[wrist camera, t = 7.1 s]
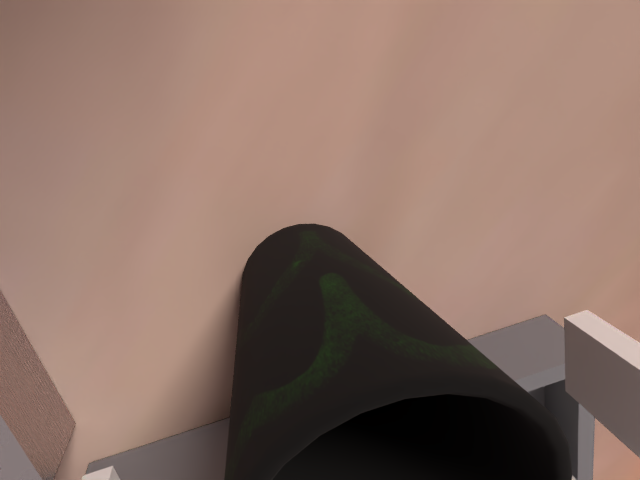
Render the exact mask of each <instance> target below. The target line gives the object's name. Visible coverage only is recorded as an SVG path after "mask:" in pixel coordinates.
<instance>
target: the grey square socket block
mask: <svg viewBox="0 0 640 480" xmlns="http://www.w3.org/2000/svg"><path fill="white" fill-rule="evenodd" d="M75 424H76V423H75V422H74V420H73V418H72V416H71V415H70V413H69V411H68V409H67V408H66V406H65V404H64V402H63V401H62V399H61V397H60V395H59V394H58V392H57V390H56V388H55V387H54V385H53V383H52V381H51V379H50V378H49V376H48V374H47V372H46V371H45V369H44V367H43V365H42V364H41V362H40V360H39V358H38V357H37V355H36V353H35V351H34V350H33V348H32V346H31V344H30V342H29V341H28V339H27V337H26V335H25V334H24V332H23V330H22V328H21V327H20V325H19V323H18V321H17V320H16V318H15V316H14V314H13V313H12V311H11V309H10V307H9V306H8V304H7V302H6V300H5V298H4V297H3V295H2V293H1V291H0V480H53V479H54V477H55V474H56V472H57V469H58V467H59V464H60V462H61V459H62V457H63V454H64V452H65V449H66V446H67V444H68V441H69V439H70V436H71V434H72V431H73V429H74V426H75Z"/></svg>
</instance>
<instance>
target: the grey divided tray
mask: <svg viewBox="0 0 640 480" xmlns="http://www.w3.org/2000/svg"><path fill="white" fill-rule="evenodd" d="M467 341H468V342H470V343H471V344H472V345H473V346H474V347H475V348H477V349H478V350H479V351H480V352H481V353H482V354H484V355H485V356H486V357H487V358H488V359H489V360H491V361H492V362H493V363H494V364H495V365H496V366H498V367H499V368H500V369H501V370H502V371H503V372H505V373H506V374H507V375H508V376H509V377H510V378H512V379H513V380H514V381H515V382H516V383H517V384H519V385H520V386H521V387H522V388H523V389H524V390H526V391H527V392H528V393H529V394H530V395H531V396H533V397H534V398H535V399H536V400H537V401H538V402H539V403H541V404H542V405H543V406H544V407H545V408H546V409H547V410H549V411H550V412H551V413H552V414H553V415H554V416H555V417H556V419H557V421H558V423H559V425H560V427H561V429H562V431H563V433H564V434H565V436H566V438H567V440H568V442H569V449H570V456H571V464H572V471H573V472H572V475H573V476H574V477H575V479H576V480H593V458H594V427H595V417H594V416H593V415H592V414H590V413H589V412H588V411H587V410H586V409H585V408H584V407H583V406H582V405H581V404H579V403H578V402H577V401H576V400H575V399H574V398H573V397H572V396H571V395H569V394H568V393H567V392H566V391H565V339H564V328H563V327H562V326H561V325H559V324H558V323H557V322H555V321H554V320H553V319H551V318H550V317H549V316H547V315H543V316H540V317H536V318H533V319H530V320H527V321H524V322H521V323H518V324H515V325H512V326H509V327H506V328H503V329H500V330H497V331H493V332H490V333H487V334H484V335H481V336H478V337H475V338H472V339H469V340H467ZM229 421H230V418H227V419H223V420H220V421H217V422H214V423H211V424H208V425H205V426H202V427H199V428H196V429H193V430H190V431H187V432H184V433H181V434H177V435H174V436H171V437H168V438H165V439H162V440H159V441H156V442H153V443H150V444H147V445H144V446H141V447H138V448H134V449H131V450H128V451H125V452H122V453H119V454H116V455H113V456H110V457H107V458H104V459H101V460H98V461H95V462H92V463H89V465H88V468H87V471H86V474H89V473H92V472H95V471H98V470H101V469H104V468H107V467H111V466H113V467H114V469H115V471H116V473H117V475H118V476H119V478H120V480H224V477H225V466H226V455H227V444H228V432H229Z"/></svg>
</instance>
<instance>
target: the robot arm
mask: <svg viewBox="0 0 640 480" xmlns="http://www.w3.org/2000/svg"><path fill="white" fill-rule="evenodd" d="M564 339H565V391H566V392H567V393H568V394H569V395H571V396H572V397H573V398H574V399H575V400H576V401H577V402H578V403H579V404H581V405H582V406H583V407H584V408H585V409H586V410H587V411H588V412H589V413H590V414H592V415H593V416H594V417H595V418H596V419H597V420H598V421H599V422H600V423H602V424H603V425H604V426H605V427H606V428H607V429H608V430H609V431H610V432H611V433H613V434H614V435H615V436H616V437H617V438H618V439H619V440H620V441H621V442H623V443H624V444H625V445H626V446H627V447H628V448H629V449H630V450H631V451H633V452H634V453H635V454H636V455H637V456H638V457H639V458H640V343H639V342H638V341H636V340H634V339H633V338H631V337H630V336H628V335H626V334H625V333H623V332H622V331H620V330H619V329H617V328H615V327H614V326H612V325H611V324H609V323H607V322H606V321H604V320H603V319H601V318H599V317H598V316H596V315H595V314H593V313H592V312H590V311H588V310H585V311H582V312H579V313H576V314H573V315H570V316H567V317H564ZM82 480H120V478H119V476H118V475H117V473H116V471H115V469H114V467H113V466H111V467H107V468H104V469H101V470H98V471H95V472H92V473H89V474H86V475H83V477H82Z"/></svg>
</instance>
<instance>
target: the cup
mask: <svg viewBox="0 0 640 480" xmlns="http://www.w3.org/2000/svg"><path fill="white" fill-rule="evenodd" d="M572 472H573V471H572V464H571V456H570V449H569V442H568V440H567V438H566V436H565V434H564V433H563V431H562V429H561V427H560V425H559V423H558V421H557V419H556V417H555V416H554V415H553V414H552V413H551V412H550V411H549V410H547V409H546V408H545V407H544V406H543V405H542V404H541V403H539V402H538V401H537V400H536V399H535V398H534V397H533V396H531V395H530V394H529V393H528V392H527V391H526V390H524V389H523V388H522V387H521V386H520V385H519V384H517V383H516V382H515V381H514V380H513V379H512V378H510V377H509V376H508V375H507V374H506V373H505V372H503V371H502V370H501V369H500V368H499V367H498V366H496V365H495V364H494V363H493V362H492V361H491V360H489V359H488V358H487V357H486V356H485V355H484V354H482V353H481V352H480V351H479V350H478V349H477V348H475V347H474V346H473V345H472V344H471V343H470V342H468V341H467V340H466V339H465V338H464V337H463V336H461V335H460V334H459V333H458V332H457V331H455V330H454V329H453V328H452V327H451V326H450V325H448V324H447V323H446V322H445V321H444V320H443V319H441V318H440V317H439V316H438V315H437V314H436V313H434V312H433V311H432V310H431V309H430V308H429V307H427V306H426V305H425V304H424V303H423V302H422V301H420V300H419V299H418V298H417V297H416V296H415V295H413V294H412V293H411V292H410V291H409V290H408V289H406V288H405V287H404V286H403V285H402V284H401V283H399V282H398V281H397V280H396V279H395V278H394V277H392V276H391V275H390V274H389V273H388V272H387V271H385V270H384V269H383V268H382V267H381V266H380V265H378V264H377V263H376V262H375V261H374V260H373V259H371V258H370V257H369V256H368V255H367V254H365V253H364V252H363V251H362V250H361V249H360V248H358V247H357V246H356V245H355V244H354V243H353V242H351V241H350V240H349V239H348V238H347V237H346V236H344V235H343V234H342V233H340V232H338V231H336V230H334V229H332V228H330V227H327V226H322V225H318V224H298V225H294V226H290V227H286V228H283V229H281V230H279V231H277V232H275V233H274V234H272V235H270V236H268V237H267V238H266V239H265V240H264V241H263V242H262V243H260V244H259V245H258V246H257V247H256V249H255V250H254V252H253V253H252V254H251V256H250V257H249V259H248V261H247V264H246V266H245V269H244V272H243V279H242V288H241V299H240V310H239V321H238V333H237V344H236V355H235V366H234V377H233V388H232V399H231V410H230V421H229V432H228V444H227V455H226V466H225V477H224V480H572Z"/></svg>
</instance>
